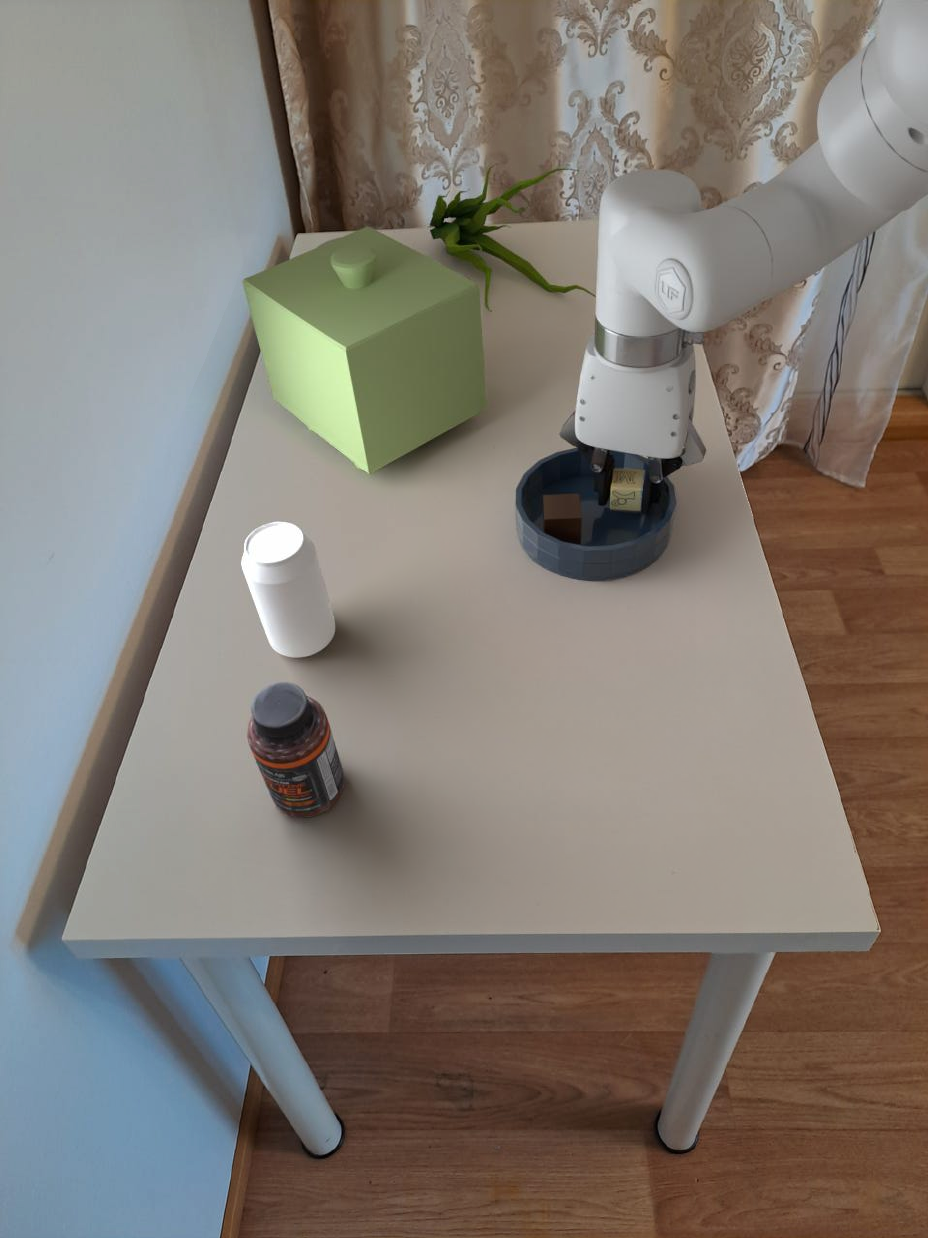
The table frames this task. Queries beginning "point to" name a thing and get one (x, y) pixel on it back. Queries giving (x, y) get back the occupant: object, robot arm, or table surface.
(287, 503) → the table surface
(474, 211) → the decorative plant
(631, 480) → the alphabet block
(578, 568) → the bowl
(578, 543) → the walnut cube
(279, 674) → the table surface
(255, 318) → the container
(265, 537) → the beverage can
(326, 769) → the supplement bottle
